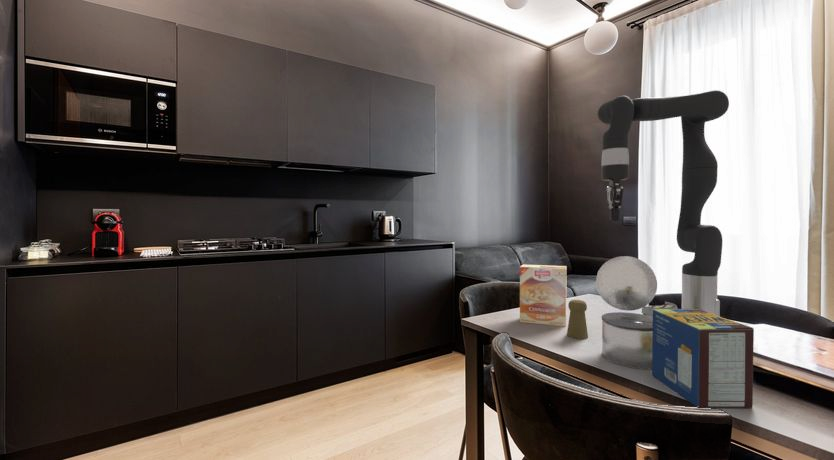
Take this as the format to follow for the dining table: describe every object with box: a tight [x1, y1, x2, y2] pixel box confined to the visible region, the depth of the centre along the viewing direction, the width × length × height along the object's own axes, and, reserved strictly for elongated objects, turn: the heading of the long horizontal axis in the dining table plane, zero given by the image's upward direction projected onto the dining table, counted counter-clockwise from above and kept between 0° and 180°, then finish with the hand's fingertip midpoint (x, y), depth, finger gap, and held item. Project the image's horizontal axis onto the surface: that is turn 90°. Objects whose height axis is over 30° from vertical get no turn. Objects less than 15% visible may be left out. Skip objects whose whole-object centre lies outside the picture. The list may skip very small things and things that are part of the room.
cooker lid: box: [595, 255, 658, 312], centre depth 107 cm, size 15×15×3 cm
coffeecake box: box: [519, 263, 568, 328], centre depth 131 cm, size 15×7×20 cm, turn 67°
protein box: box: [651, 308, 755, 409], centre depth 80 cm, size 10×15×16 cm
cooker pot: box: [601, 311, 653, 370], centre depth 98 cm, size 14×14×10 cm
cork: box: [566, 299, 589, 340], centre depth 116 cm, size 6×6×11 cm
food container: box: [641, 301, 679, 317], centre depth 112 cm, size 12×6×10 cm, turn 117°
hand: (614, 220), depth 118 cm, fingers closed
